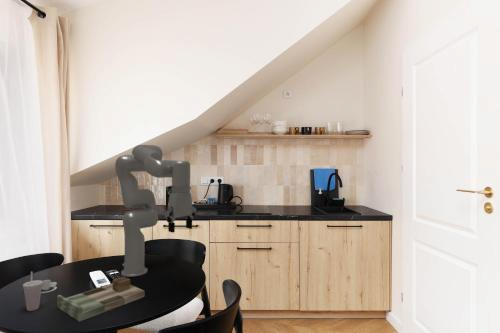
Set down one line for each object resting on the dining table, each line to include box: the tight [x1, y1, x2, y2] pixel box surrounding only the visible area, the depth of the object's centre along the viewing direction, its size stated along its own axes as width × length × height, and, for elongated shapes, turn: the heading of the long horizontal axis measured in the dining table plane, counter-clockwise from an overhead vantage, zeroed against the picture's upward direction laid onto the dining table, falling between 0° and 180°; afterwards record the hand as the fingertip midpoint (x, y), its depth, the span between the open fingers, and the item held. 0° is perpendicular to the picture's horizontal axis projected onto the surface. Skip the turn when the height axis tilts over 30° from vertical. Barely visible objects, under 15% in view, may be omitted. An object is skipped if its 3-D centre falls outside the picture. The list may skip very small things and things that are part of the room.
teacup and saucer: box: [41, 279, 58, 294], centre depth 135 cm, size 9×8×4 cm
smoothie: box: [22, 271, 44, 312], centre depth 117 cm, size 6×6×14 cm
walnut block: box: [112, 276, 131, 292], centre depth 129 cm, size 5×5×4 cm
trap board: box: [56, 282, 146, 323], centre depth 123 cm, size 18×26×4 cm
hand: (180, 230), depth 131 cm, fingers open, 9 cm apart
